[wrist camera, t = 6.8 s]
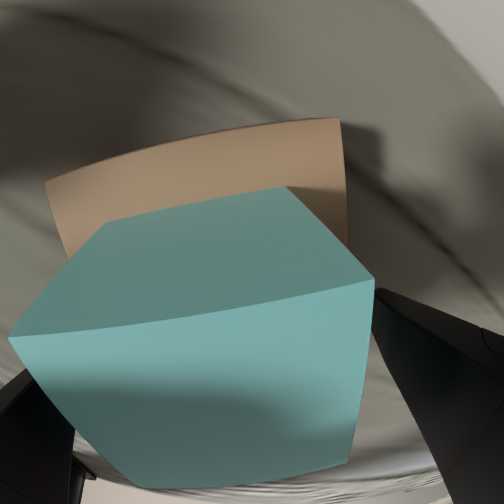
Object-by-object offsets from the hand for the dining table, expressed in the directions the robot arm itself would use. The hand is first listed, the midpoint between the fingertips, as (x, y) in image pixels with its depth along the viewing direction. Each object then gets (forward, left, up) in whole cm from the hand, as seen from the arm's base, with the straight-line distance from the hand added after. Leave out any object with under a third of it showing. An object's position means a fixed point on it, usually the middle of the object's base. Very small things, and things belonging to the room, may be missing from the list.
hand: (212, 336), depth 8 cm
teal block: (0, 0, -3) cm, 3 cm away
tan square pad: (0, 0, -6) cm, 6 cm away
